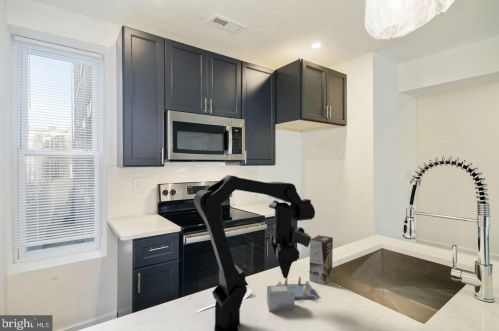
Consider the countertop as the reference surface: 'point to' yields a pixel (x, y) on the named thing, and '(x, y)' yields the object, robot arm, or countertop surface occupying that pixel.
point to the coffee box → (321, 259)
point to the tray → (300, 289)
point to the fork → (214, 304)
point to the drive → (280, 298)
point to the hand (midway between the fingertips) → (282, 271)
